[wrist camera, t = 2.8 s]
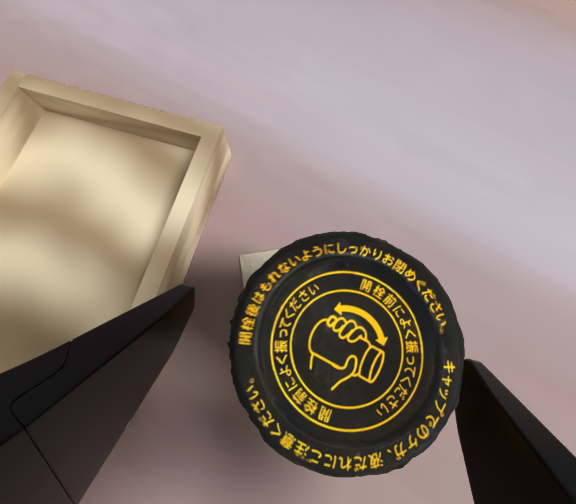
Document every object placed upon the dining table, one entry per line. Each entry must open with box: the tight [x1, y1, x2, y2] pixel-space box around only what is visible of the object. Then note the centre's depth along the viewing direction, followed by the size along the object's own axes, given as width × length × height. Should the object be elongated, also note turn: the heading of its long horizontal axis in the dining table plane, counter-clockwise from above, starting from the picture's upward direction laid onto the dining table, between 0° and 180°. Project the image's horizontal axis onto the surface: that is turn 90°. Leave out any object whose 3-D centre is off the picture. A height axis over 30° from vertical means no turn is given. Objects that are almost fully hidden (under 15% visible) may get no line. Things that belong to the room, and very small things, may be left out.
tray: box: [0, 70, 231, 429], centre depth 17 cm, size 18×14×3 cm
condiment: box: [227, 231, 465, 477], centre depth 12 cm, size 7×8×12 cm
